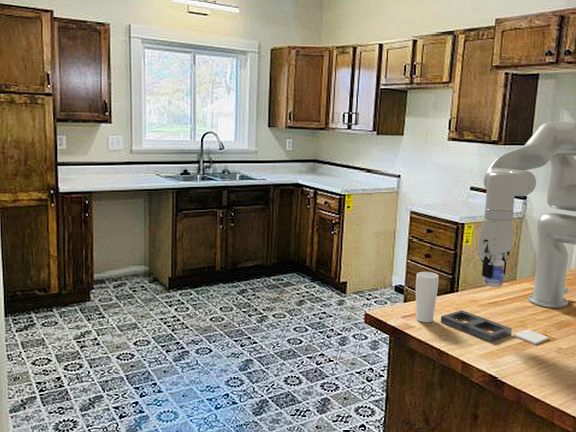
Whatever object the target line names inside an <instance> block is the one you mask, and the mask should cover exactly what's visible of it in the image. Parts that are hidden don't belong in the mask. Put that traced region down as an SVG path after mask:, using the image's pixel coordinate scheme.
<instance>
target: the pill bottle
mask: <svg viewBox="0 0 576 432" xmlns="http://www.w3.org/2000/svg"><path fill="white" fill-rule="evenodd" d="M488 253H489V254H490V252H489V251H488ZM502 255H503V254H498V255H495V256H494V259H493V263H492V265H494V266H493V277H492V278H491V279H490V278H487V277H483V285H485V286H487V287H491V288H501V287H502V286H503V285H504V284H503V283H504V276H505V275H504V261H503V260H501V259H502ZM487 257H488V259H490V256H488V255H487Z"/></svg>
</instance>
